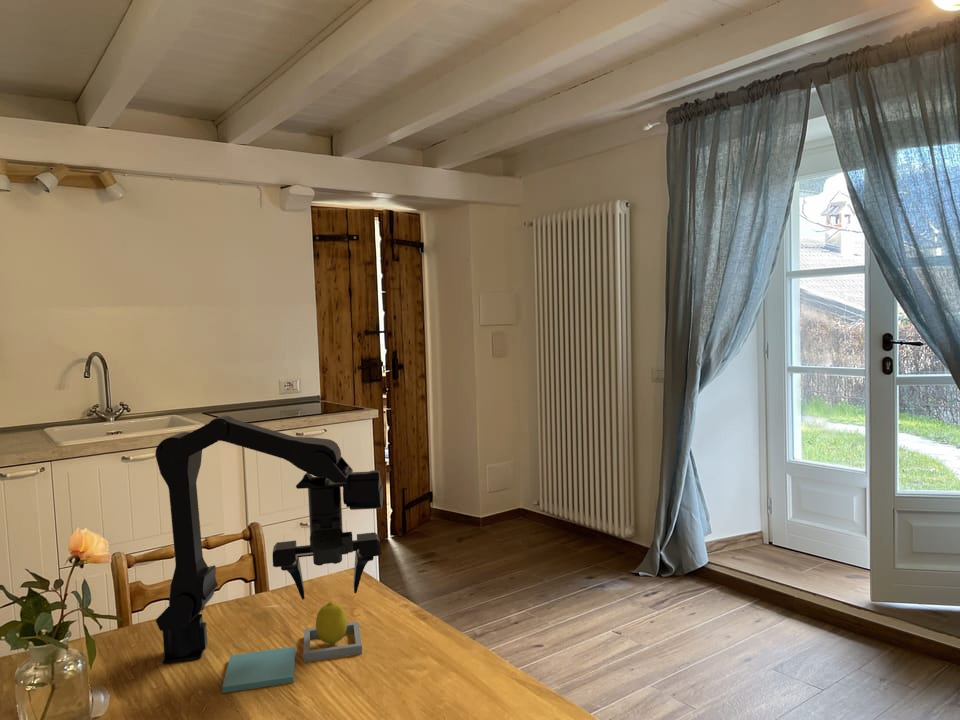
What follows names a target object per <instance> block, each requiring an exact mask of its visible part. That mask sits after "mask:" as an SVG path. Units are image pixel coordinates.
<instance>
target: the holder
mask: <svg viewBox="0 0 960 720" xmlns="http://www.w3.org/2000/svg"><path fill="white" fill-rule="evenodd" d="M303 631H304V633H303V663H307V662H308V663H309V662H316V661H321V660H329V659H335V658H342V657H349V656H350V657H351V656H357V655H363V644H362V637H361V630H360V624H359V621H355V622H349V623H348V622H347V629H346V633H345V635H347V634H353V637H354V643H352V644H347V645H346V644H344V645H338V646H331V647H323V648H317V649H311V639H317V638H319V636H318V634H317V631H316V627H312V628H304V630H303Z"/></svg>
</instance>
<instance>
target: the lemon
mask: <svg viewBox="0 0 960 720" xmlns="http://www.w3.org/2000/svg"><path fill="white" fill-rule="evenodd" d="M347 623H348V619H347V615H346V612H345V609H344V608H343V607H342V605H340V604H337V603H334V602H332V601H328V602H327V603H326V604H324V605H323V606H322V607H321V608H320V609H319V610H318V613H317V614H316V618H315V628H316V631H317V634H318V636H319V637H318V638H319V639H320V640H321V641H322V642H323V643H325V644H328V645H330V646H331V647H334V646H336V644H337V643H338V642H340V641H341V640H342V639H343V638H344V636H345V635H346V634H345V633H346V629H347Z"/></svg>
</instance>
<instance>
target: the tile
mask: <svg viewBox="0 0 960 720" xmlns="http://www.w3.org/2000/svg"><path fill="white" fill-rule="evenodd" d="M296 651H297V649H296V645H295V646H289V647H288V646H287V647H281V648H280V647H279V648H273V649H266V650H259V651H251V652H245V653H243V652H242V653H238V654H231V655H230V656H229V660H228V664H227V668H226V672H225V675H224V679H223V682H222V683H223V684H222V686H221V687H222V694H227V693H233V692H239V691H246V690H254V689H258V688H259V689H260V688H267V687H272V686H280V685H286V684H294V683H295V672H296V671H295V670H296V669H295V668H296V656H297V655H296Z"/></svg>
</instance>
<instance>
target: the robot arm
mask: <svg viewBox="0 0 960 720" xmlns="http://www.w3.org/2000/svg"><path fill="white" fill-rule="evenodd" d="M220 441H221V442H226V443H229V444H232V445H235V446H239V447H242V448H246V449H249V450H251V451H252V450H253V451H255V452H260V453H263V454H266V455H269V456H272V457H273V456H274V457H276V458H279V459H283V460H285V461H287V462H289V463H290V464H292V465H293V466H295V467H296V468H297V469H299V470H301V471H304V472H305V473H304V474H303V477H302V478H301V480H300V481H299V482H298V483H297V484H296V486H295V488H296V489H299V490H300V489H307V494H308V495H307V497H308V514H309V515H308V516H309V517H308V518H309V544H308V545H299V546H297V540H287V541H279V542H276V543H275V544H274V545H273V549H272V567H274V568H280V570H281V571H285V572H286V571H287V572H288V573H289V574H290V576H291V578H292V579H293V581H294V584H295V586H296V588H297V591H298V593H299V595H300V598H301V600H305V585H304V580H303V574H302V567H301V562H300V558H304V557H312V558H313V559H312V560H313V564H314V565H315V566H323V565H329V564H333V565H336V564H340V563H341V562H342V561H343V555H348V554H349V553H353V552H355V554H354V555H355V556H354V569H353V593H354V594H357V592H358V590H359V589H358V588H359V586H360V582H361V579H362V574H363V572H364V570H365V567H366V565H367V564H368V562H370V561H371V562H372V561H373V560H375V559H374V557H379V556H381V555H382V552H381V551H382V550H381V540H380V536H379V534H378V533H376V532H367V533H366V532H364V533H356V539H355V540H353V532H352V531H343V511H342V501H343V504H344V505H345V506H346V508H349V509H350V511H354V510H355V511H358V510H376V509H377V510H378V509H383V504H384V485H383V484H382V483H383V482H382V478H381V471H380V470H379V469H376V470H375V469H373V470H370V471H356V472H355V471H354V470H353V469H352V467H351V465H350V464H348V462H346V460H345V459H344V457H343V456H342V451H341V448H340V447H339V444H338V443H337V442H336V441H334V440H332V439H328V438H320V437H313V436H312V437H309V436H306V437H305V436H293V435H289V434H286V433H283V432H279V431H276V430H273V429H269V428H266V427H262V426H258V425H256V424H252V423H249V422H247V421H246V422H245V421H241V420H238V419H235V418H233V417H232V416H230V415H221V416H218V417H216V418H213V419H212V420H211V421H210V422H208V423H207V424H204V425H203V426H201V427H199V428H197V429H195V430H193V431H191V432H189V431H183V432H179V433H175V434H174V435H171V436H169V437H166V438H164V439H163V440H161V441H160V443H159V444H158V445H157V446H156V447H155V448H156V449H155V455H154V456H155V458H156V463H157V466H158V469H159V475H161V477H162V479H163V480H164V482H165V484H166V485H167V488H168V494H169V495H168V497H169V506H170V515H171V516H170V517H171V527H172V528H171V530H172V539H173V540H172V541H173V550H174V563H175V566H174V567H175V568H174V572H173V575H172V579H171V583H170V587H169V598H168V599H169V600H168V606H167V607H166V608H165V609H164V611H162V612H161V614H160V615H159V616H158V617H157V618H156V619H155V622H156V625H157V627H158V629H159V631H161V632H162V641H163V642H162V643H163V657H162V658H161V663H162V664H168V663H169V664H170V663H175V662H182V661H183V662H184V661H191V660H198V659H201V658H202V656H203V653H204V651H206V649H207V645H208V629H207V622H205V621H204V620H203V617H204V616H203V613H201V612H202V611H203V610H205V607H206V605H207V604H208V603H209V601H210V600H211V599H212V598H213V596H214V594H215V590H216V589H217V587H218V586H219V583H218V582H217V580H216V572H217V568H216V567H217V566H216V565H211V566H208V564H207V563H206V561H205V559H204V557H203V556H204V555H203V545H202V534H201V533H202V531H201V522H200V511H199V510H200V509H199V499H198V489H197V486H198V485H197V481H198V476H199V472H200V469H201V465H202V457H203V455H202V454H203V450H205V449H206V448H208V447H210V446H212V445H214V444H216V443H218V442H220ZM341 488H342V489H341ZM341 490H342V491H341Z"/></svg>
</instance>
